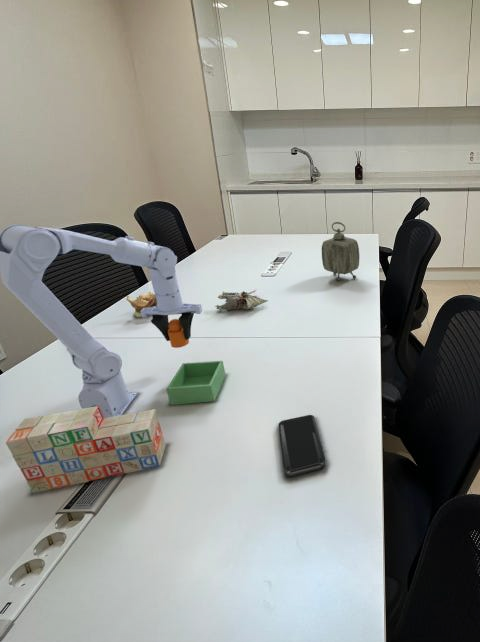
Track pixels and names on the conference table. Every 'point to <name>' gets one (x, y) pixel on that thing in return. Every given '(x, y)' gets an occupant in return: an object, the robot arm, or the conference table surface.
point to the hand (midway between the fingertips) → (179, 338)
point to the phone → (301, 446)
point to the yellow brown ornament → (143, 302)
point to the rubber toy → (176, 334)
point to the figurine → (239, 301)
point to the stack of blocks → (85, 446)
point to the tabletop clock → (340, 254)
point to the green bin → (196, 382)
